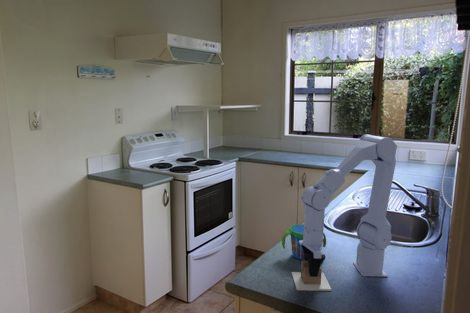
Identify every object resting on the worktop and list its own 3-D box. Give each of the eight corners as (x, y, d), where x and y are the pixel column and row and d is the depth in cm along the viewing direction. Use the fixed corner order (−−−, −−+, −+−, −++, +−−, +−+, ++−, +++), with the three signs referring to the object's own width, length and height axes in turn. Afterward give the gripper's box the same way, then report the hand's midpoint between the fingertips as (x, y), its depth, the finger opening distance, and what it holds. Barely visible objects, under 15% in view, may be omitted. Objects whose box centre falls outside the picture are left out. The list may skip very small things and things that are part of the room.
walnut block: (300, 275, 113) (301, 260, 113) (316, 276, 114) (317, 260, 113) (303, 284, 108) (304, 268, 108) (320, 284, 109) (321, 268, 108)
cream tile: (291, 273, 116) (291, 271, 116) (323, 274, 116) (323, 272, 116) (296, 290, 106) (296, 288, 106) (331, 290, 106) (331, 289, 106)
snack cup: (321, 250, 134) (322, 223, 133) (329, 263, 124) (331, 234, 122) (278, 250, 134) (279, 223, 132) (283, 263, 123) (285, 234, 122)
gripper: (296, 219, 115) (294, 259, 118) (304, 236, 101) (302, 282, 103) (318, 219, 115) (316, 260, 118) (330, 237, 101) (327, 283, 103)
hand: (311, 270), depth 110 cm, fingers open, 6 cm apart
